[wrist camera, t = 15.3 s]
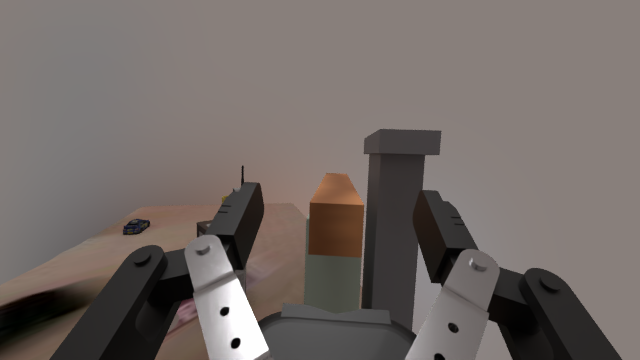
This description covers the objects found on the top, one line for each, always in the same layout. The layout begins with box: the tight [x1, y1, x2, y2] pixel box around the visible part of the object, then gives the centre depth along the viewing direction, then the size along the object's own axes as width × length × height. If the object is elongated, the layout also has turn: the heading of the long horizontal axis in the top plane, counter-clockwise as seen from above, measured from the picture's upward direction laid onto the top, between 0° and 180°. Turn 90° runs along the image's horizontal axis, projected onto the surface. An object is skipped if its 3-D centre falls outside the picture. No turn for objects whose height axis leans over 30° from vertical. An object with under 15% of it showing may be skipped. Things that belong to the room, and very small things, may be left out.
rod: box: [308, 173, 364, 258], centre depth 26 cm, size 3×24×3 cm, turn 176°
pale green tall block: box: [304, 215, 363, 314], centre depth 29 cm, size 5×12×24 cm, turn 176°
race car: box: [123, 219, 150, 234], centre depth 94 cm, size 15×7×4 cm, turn 23°
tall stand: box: [361, 129, 441, 331], centre depth 29 cm, size 5×12×32 cm, turn 176°
